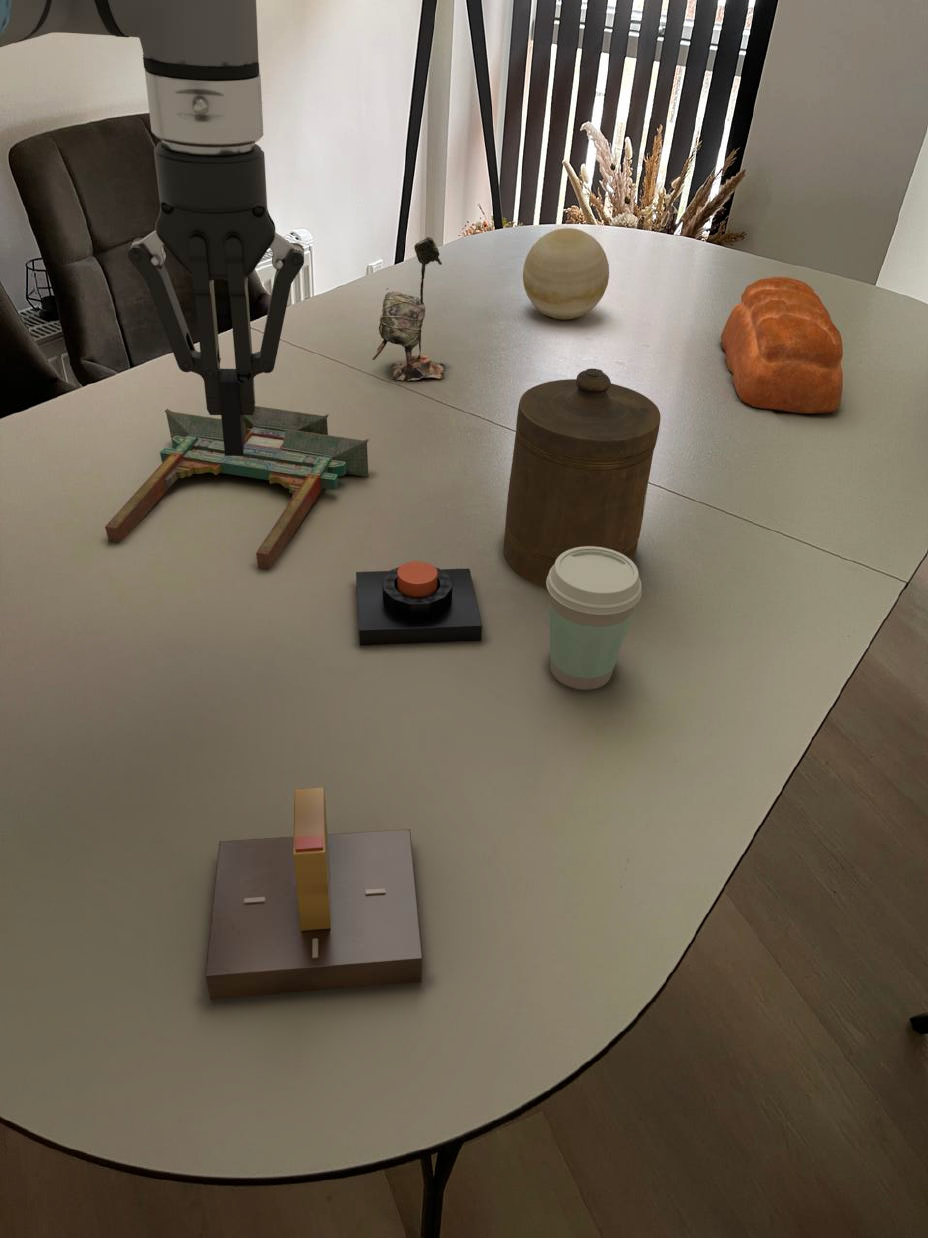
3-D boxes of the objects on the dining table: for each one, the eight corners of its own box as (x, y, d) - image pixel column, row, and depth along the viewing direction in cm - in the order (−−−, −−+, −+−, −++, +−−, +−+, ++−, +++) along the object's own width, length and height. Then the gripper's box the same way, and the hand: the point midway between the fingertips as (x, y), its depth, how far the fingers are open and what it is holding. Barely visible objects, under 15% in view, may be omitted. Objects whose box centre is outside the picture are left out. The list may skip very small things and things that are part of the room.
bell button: (398, 598, 93) (398, 584, 92) (396, 575, 96) (396, 561, 95) (439, 597, 94) (439, 582, 93) (435, 574, 97) (435, 560, 96)
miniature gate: (68, 508, 103) (190, 383, 125) (80, 549, 107) (196, 421, 129) (301, 548, 99) (385, 412, 121) (306, 589, 103) (386, 449, 125)
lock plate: (210, 1002, 63) (204, 974, 61) (223, 867, 71) (219, 839, 69) (421, 984, 64) (422, 957, 62) (409, 854, 73) (410, 827, 71)
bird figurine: (382, 359, 151) (381, 227, 139) (451, 368, 149) (456, 235, 137) (367, 378, 144) (365, 242, 132) (439, 388, 143) (444, 251, 131)
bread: (737, 410, 141) (758, 324, 133) (716, 335, 166) (732, 258, 158) (844, 419, 140) (871, 333, 132) (806, 342, 165) (827, 265, 157)
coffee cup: (642, 673, 91) (664, 570, 84) (587, 714, 86) (605, 609, 79) (574, 633, 96) (589, 532, 89) (517, 669, 91) (528, 566, 84)
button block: (359, 648, 93) (358, 615, 90) (356, 588, 101) (355, 557, 98) (481, 643, 94) (483, 610, 92) (468, 585, 102) (470, 554, 100)
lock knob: (301, 865, 68) (294, 786, 63) (329, 863, 68) (324, 784, 63) (300, 931, 64) (292, 852, 59) (330, 929, 64) (325, 849, 59)
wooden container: (660, 560, 108) (697, 376, 94) (575, 611, 99) (604, 416, 86) (561, 509, 116) (583, 332, 103) (475, 552, 107) (487, 365, 94)
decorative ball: (613, 312, 173) (625, 226, 164) (588, 338, 162) (599, 247, 153) (536, 297, 178) (544, 213, 169) (506, 321, 167) (513, 233, 158)
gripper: (102, 149, 62) (149, 469, 76) (303, 158, 64) (313, 469, 78) (119, 126, 68) (160, 428, 82) (304, 135, 70) (312, 428, 84)
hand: (235, 448), depth 80 cm, fingers closed
